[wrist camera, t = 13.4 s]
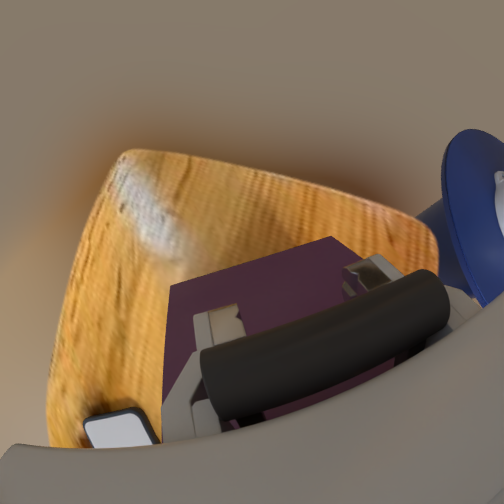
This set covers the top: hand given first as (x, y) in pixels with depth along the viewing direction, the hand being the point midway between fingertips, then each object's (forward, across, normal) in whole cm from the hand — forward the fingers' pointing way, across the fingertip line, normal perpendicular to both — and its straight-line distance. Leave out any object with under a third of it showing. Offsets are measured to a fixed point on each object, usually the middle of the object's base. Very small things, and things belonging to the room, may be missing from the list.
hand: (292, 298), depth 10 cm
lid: (+2, 0, +4) cm, 5 cm away
